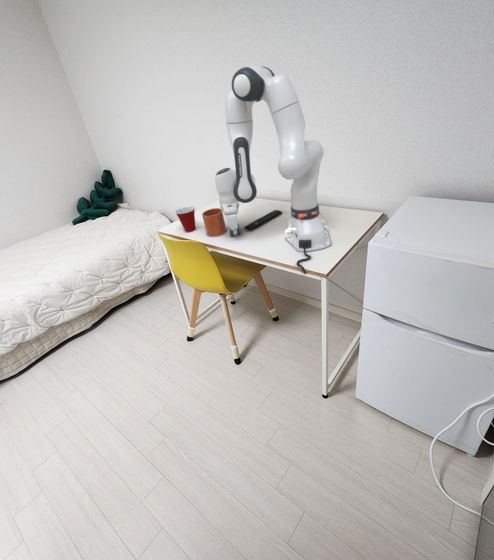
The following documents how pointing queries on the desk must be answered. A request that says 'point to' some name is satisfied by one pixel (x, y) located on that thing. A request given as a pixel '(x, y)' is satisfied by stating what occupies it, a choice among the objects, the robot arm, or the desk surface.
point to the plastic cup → (187, 218)
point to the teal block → (237, 232)
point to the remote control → (262, 220)
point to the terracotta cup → (214, 222)
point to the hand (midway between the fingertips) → (234, 230)
